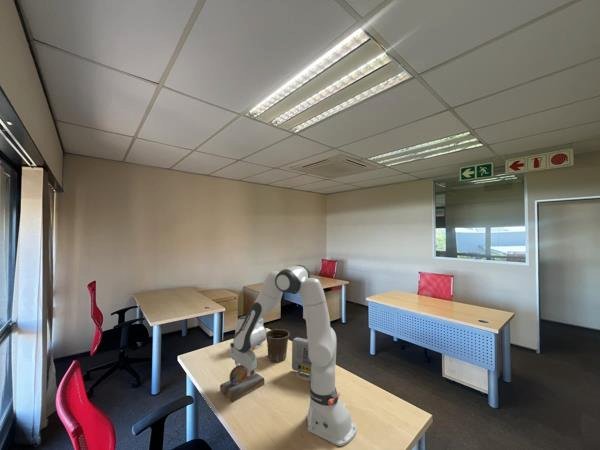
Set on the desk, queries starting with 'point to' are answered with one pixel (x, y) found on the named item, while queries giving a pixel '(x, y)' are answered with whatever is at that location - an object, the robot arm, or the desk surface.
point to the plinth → (241, 387)
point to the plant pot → (277, 344)
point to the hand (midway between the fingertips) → (243, 372)
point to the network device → (301, 357)
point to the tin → (239, 375)
